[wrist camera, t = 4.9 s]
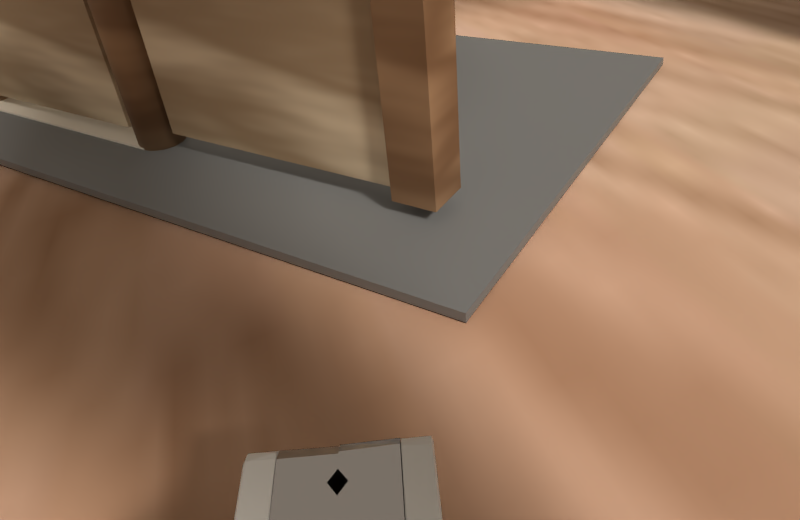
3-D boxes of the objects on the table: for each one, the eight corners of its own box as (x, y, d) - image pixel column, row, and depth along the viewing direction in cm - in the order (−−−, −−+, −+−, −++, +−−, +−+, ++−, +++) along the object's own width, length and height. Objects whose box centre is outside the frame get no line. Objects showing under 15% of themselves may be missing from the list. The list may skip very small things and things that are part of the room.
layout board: (184, 10, 55) (183, 4, 55) (662, 64, 37) (663, 56, 36) (-111, 127, 39) (-116, 119, 39) (465, 322, 21) (465, 310, 21)
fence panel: (197, 126, 33) (121, -130, 26) (460, 187, 26) (449, -141, 19) (167, 143, 32) (79, -122, 25) (436, 212, 25) (414, -131, 18)
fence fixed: (9, 94, 42) (-101, -140, 34) (198, 141, 34) (110, -153, 26) (-27, 109, 40) (-150, -134, 33) (163, 161, 32) (59, -145, 25)
